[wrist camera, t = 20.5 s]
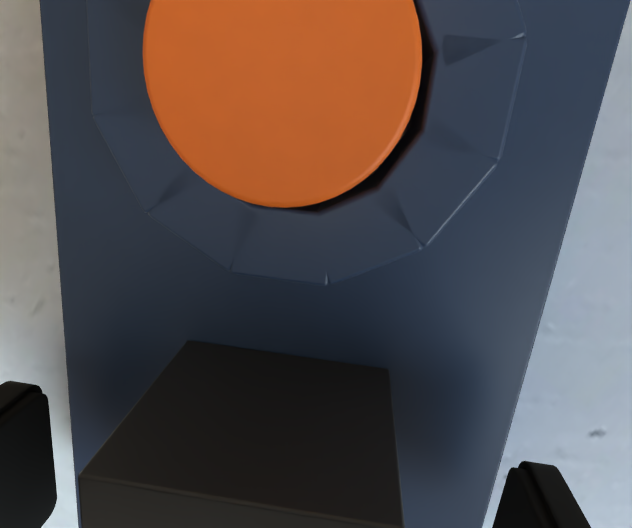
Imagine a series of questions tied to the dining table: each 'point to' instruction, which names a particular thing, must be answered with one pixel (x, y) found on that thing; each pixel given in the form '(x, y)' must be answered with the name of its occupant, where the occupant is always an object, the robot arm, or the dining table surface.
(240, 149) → the power button
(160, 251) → the button base
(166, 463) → the block
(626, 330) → the dining table surface
